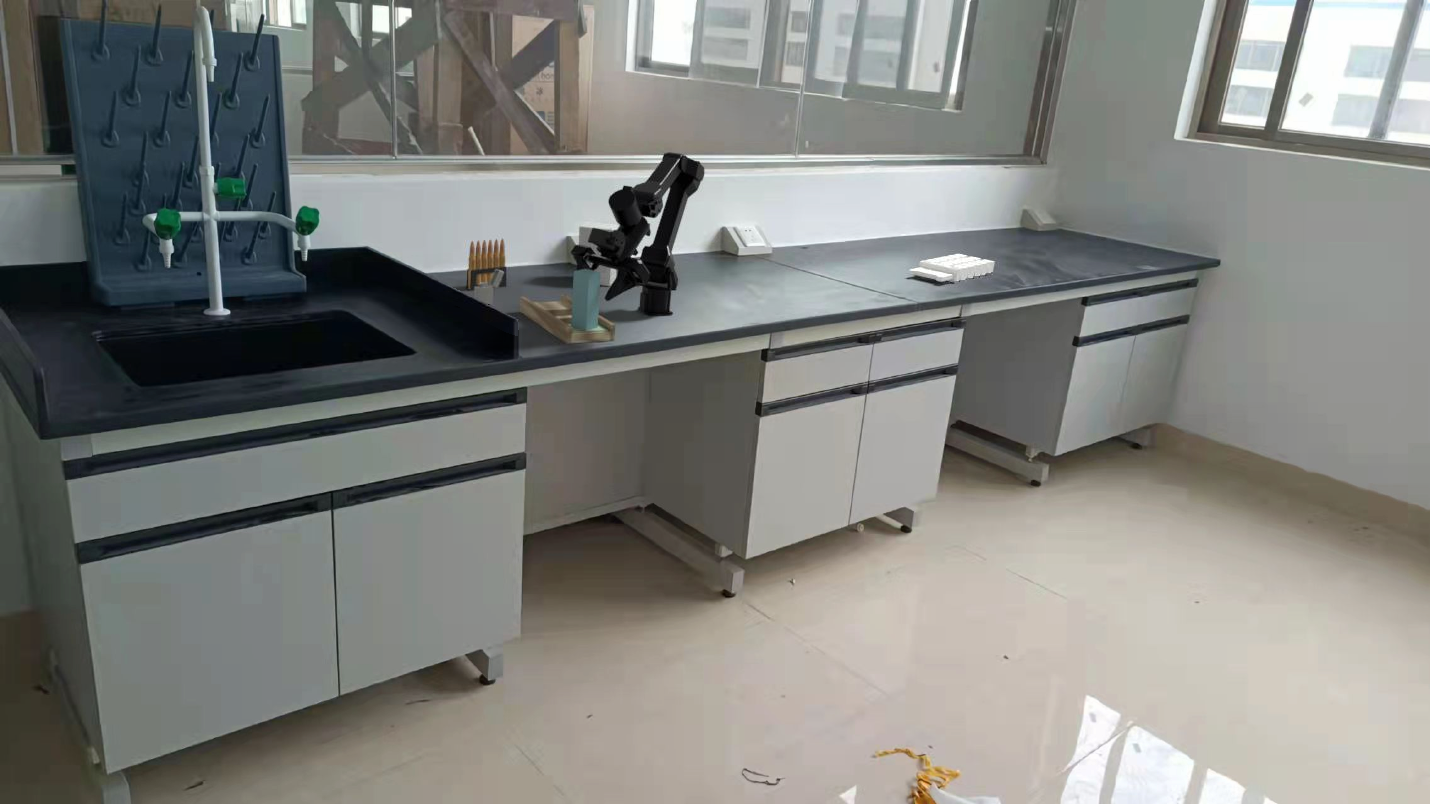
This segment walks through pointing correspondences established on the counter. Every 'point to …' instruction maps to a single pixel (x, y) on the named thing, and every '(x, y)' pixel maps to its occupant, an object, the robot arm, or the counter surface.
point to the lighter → (488, 288)
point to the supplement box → (584, 232)
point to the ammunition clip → (485, 264)
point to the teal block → (585, 299)
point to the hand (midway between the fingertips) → (589, 295)
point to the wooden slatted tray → (565, 321)
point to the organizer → (953, 268)
